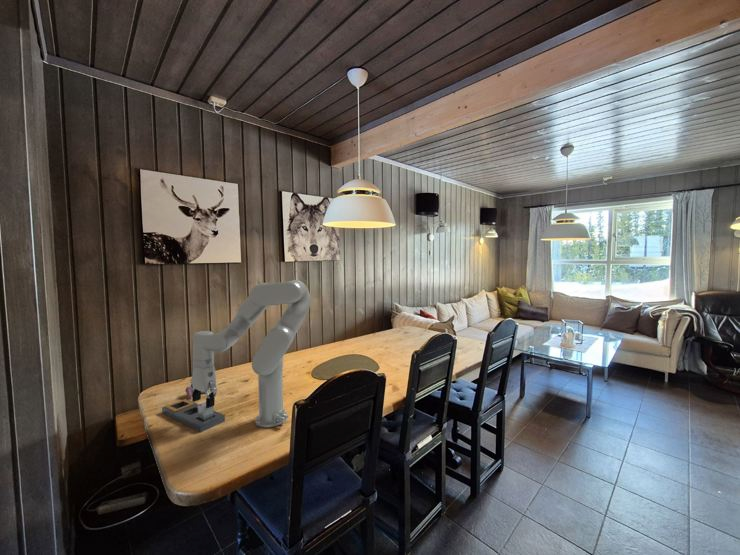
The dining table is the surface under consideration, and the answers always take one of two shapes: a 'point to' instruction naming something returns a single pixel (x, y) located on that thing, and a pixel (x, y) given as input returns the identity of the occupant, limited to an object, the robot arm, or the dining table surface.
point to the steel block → (204, 412)
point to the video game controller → (190, 391)
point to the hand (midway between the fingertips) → (203, 403)
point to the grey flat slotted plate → (186, 408)
